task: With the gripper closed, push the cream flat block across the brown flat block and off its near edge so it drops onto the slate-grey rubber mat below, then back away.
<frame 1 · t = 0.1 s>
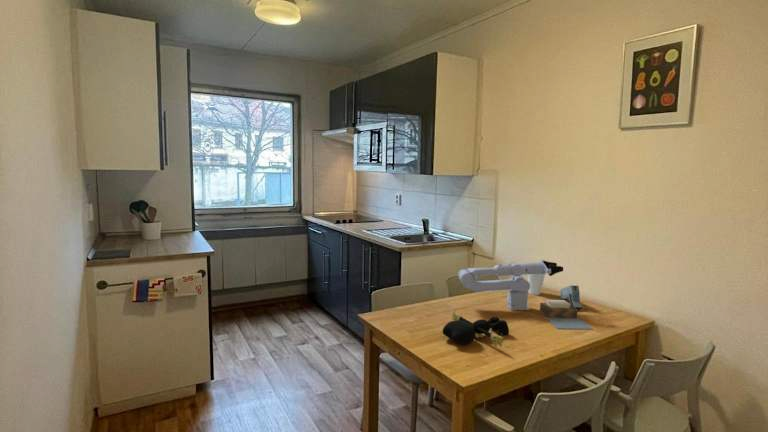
hand: (559, 266, 216), 22 cm above the table, tool horizontal, fingers open, 7 cm apart
brown flat block: (557, 314, 210), on the table
cream flat block: (557, 305, 210), point 4 cm above the table, touching brown flat block
toy: (476, 338, 180), on the table
mat: (568, 323, 198), on the table
foam cup: (534, 293, 244), on the table
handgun: (569, 304, 226), on the table
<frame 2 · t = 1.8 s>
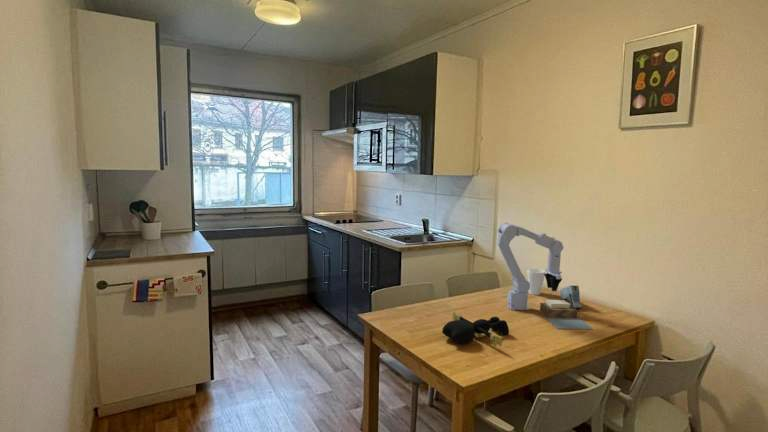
hand: (551, 289, 218), 10 cm above the table, tool pointing down, fingers open, 5 cm apart
nothing on the table moved.
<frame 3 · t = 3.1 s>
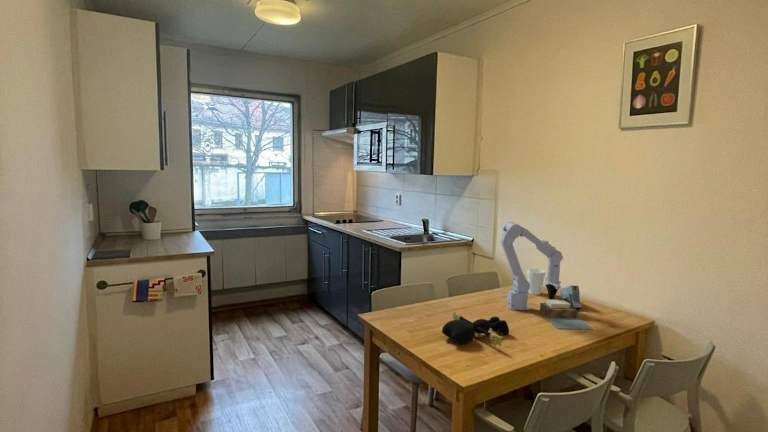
hand: (551, 298, 218), 5 cm above the table, tool pointing down, fingers closed
nothing on the table moved.
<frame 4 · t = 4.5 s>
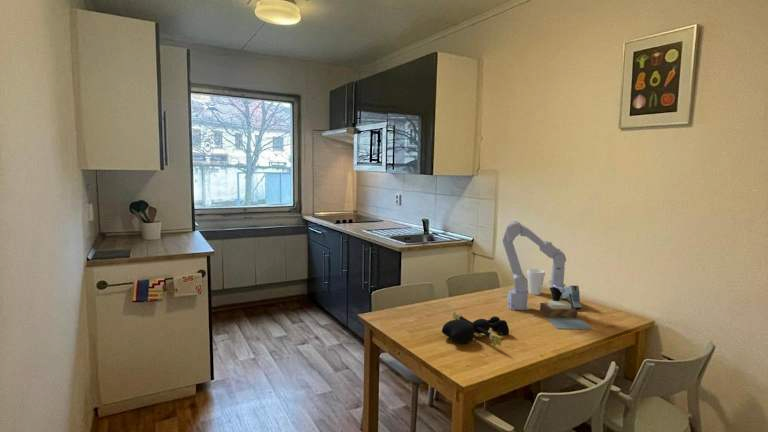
hand: (555, 302, 213), 5 cm above the table, tool pointing down, fingers closed
cream flat block: (559, 306, 209), point 4 cm above the table, touching brown flat block, gripper
everything else where it was.
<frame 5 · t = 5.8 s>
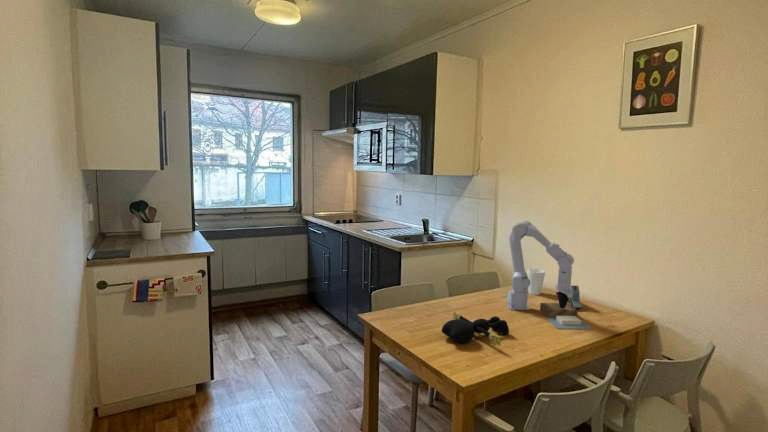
hand: (562, 307, 205), 5 cm above the table, tool pointing down, fingers closed
cream flat block: (568, 318, 199), point 2 cm above the table, tilted 180°, touching mat
everything else where it was.
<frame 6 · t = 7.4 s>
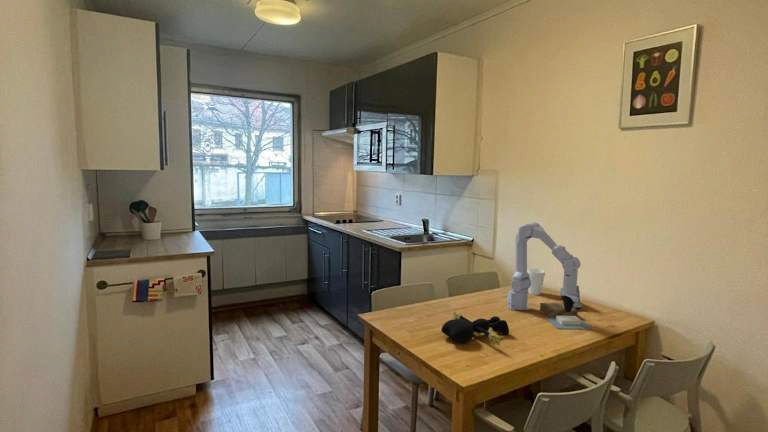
hand: (567, 311, 199), 5 cm above the table, tool pointing down, fingers closed
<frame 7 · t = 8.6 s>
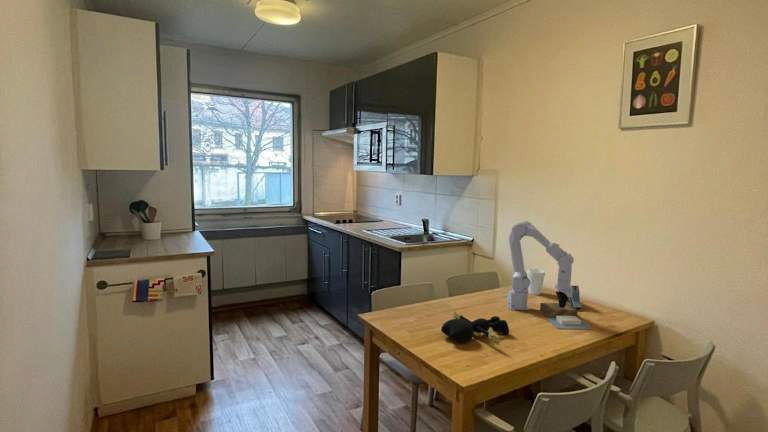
hand: (562, 307, 205), 5 cm above the table, tool pointing down, fingers closed
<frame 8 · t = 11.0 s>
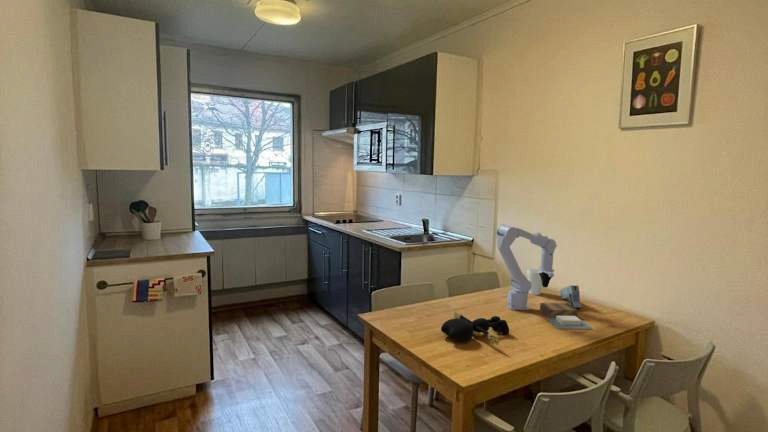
hand: (545, 286, 221), 10 cm above the table, tool pointing down, fingers closed
at the end: cream flat block point 2.3 cm above the table; cream flat block inside the target area on the mat (1.0 cm from its centre), point 2.3 cm above the mat's base; cream flat block touching mat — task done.
